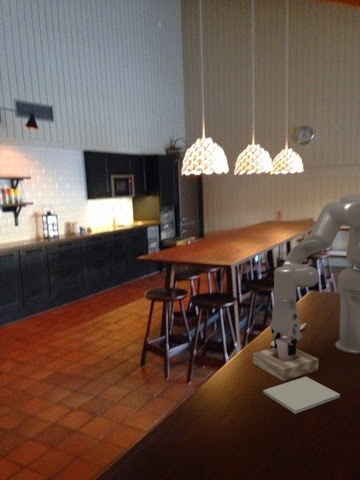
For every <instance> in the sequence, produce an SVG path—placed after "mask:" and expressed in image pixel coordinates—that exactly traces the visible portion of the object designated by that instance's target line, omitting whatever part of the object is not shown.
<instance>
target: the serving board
mask: <svg viewBox="0 0 360 480" xmlns="http://www.w3.org/2000/svg"><path fill="white" fill-rule="evenodd" d="M262 392H263V393H262V394H264V395H266V396H267V397H268V398H270V399H272V400H273V401H274V402H276V403H278V404H279V405H281V406H282V407H284V408H286V409H287V410H289V411H291V412H292V413H293V414H295V415H296V414H298V413H299V414H300V413H301V412H303V411H307V410H310V409H313V408H315V407H317V406H321V405H323V404H325V403H326V404H327V403H328V402H331V401H334V400H336V399H339V398H340V397H341V394H340V393H338V392H337V391H335V390H332V389H330V388H329V387H327V386H325V385H323V384H321V383H319V382H317V381H315V380H313V379H311V378H309V377H308V376H303V377H301V378H297V379H294V380H290V381H288V382H285V383H281V384H279V385H276V386H272V387H268V388H267V389H266V388H265V389H263V390H262Z"/></svg>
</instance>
